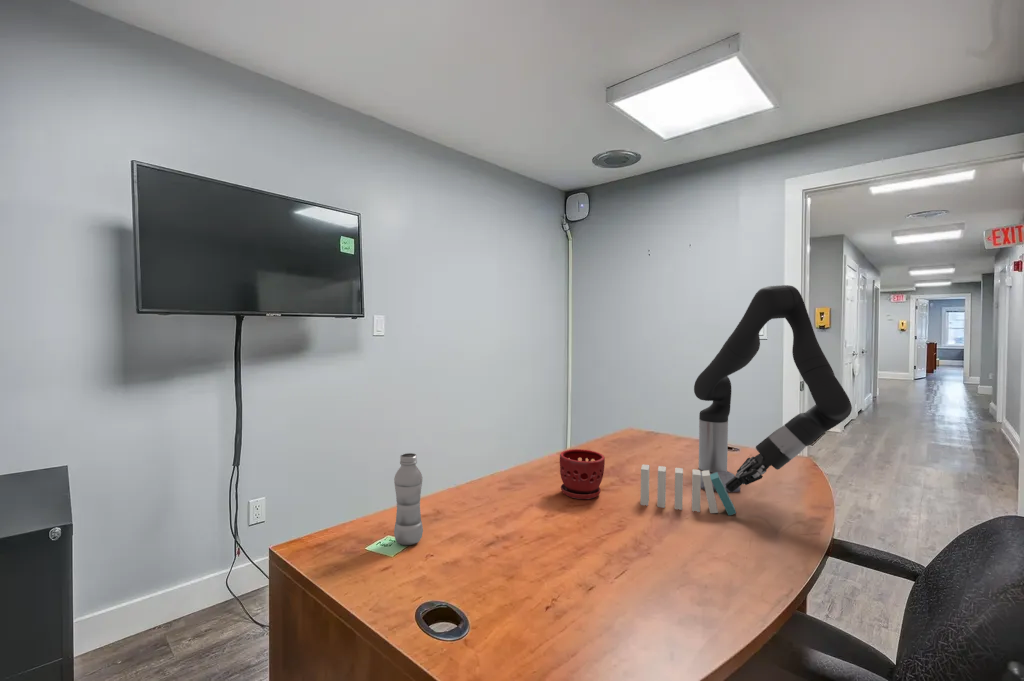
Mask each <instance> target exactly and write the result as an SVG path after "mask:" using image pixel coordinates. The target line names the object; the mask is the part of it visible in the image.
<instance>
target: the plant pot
mask: <svg viewBox="0 0 1024 681" xmlns="http://www.w3.org/2000/svg"><path fill="white" fill-rule="evenodd" d="M579 458H580V459H581V460H579ZM605 458H606V457H605V456H604V455H603V454H602V453H600V452H598V451H594V450H588V449H582V448H579V449H578V448H576V449H575V448H573V449H572V448H571V449H567V450H564V451H561V452H560V453H559V473H560V479H561V482H562V484H561V485H560V490H561V492H562V493H563V494H564V495H565V496H567V497H569V498H573V499H578V500H590V499H595V498H597V497H598V496H599V495H600V493H601V487H600V486H601V483H602V481H603V478H604V474H605V473H604V472H605V465H606V464H605V461H606V460H605ZM586 459H587V460H586Z"/></svg>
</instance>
